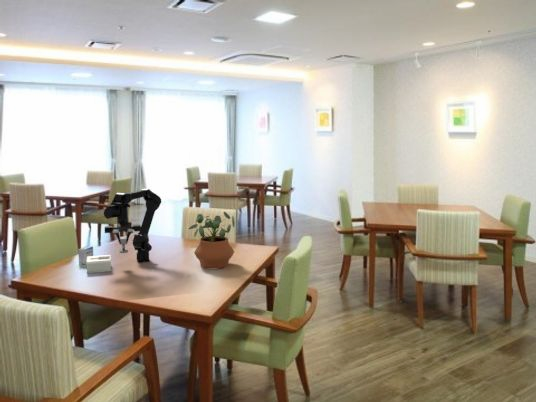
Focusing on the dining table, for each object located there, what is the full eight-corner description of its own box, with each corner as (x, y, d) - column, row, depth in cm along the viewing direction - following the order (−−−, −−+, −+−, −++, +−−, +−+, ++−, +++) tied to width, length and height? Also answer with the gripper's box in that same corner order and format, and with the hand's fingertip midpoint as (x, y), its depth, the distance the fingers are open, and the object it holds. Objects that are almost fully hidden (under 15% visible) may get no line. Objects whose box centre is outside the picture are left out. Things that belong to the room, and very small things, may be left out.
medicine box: (85, 264, 251) (85, 249, 249) (78, 264, 252) (77, 249, 250) (93, 261, 258) (93, 246, 257) (87, 260, 259) (86, 245, 258)
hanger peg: (127, 250, 249) (127, 236, 248) (128, 253, 244) (127, 238, 243) (119, 251, 247) (118, 237, 246) (119, 253, 242) (119, 239, 241)
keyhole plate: (110, 265, 250) (110, 254, 249) (111, 271, 239) (110, 260, 238) (87, 267, 246) (87, 256, 245) (86, 273, 235) (86, 262, 234)
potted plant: (215, 273, 236) (215, 217, 232) (177, 264, 252) (176, 212, 247) (242, 263, 255) (242, 211, 250) (205, 256, 270) (204, 207, 266)
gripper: (104, 219, 232) (105, 248, 234) (141, 217, 238) (142, 246, 241) (104, 215, 243) (105, 244, 245) (139, 214, 249) (140, 241, 251)
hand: (123, 244), depth 245 cm, fingers closed on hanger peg, 3 cm apart
